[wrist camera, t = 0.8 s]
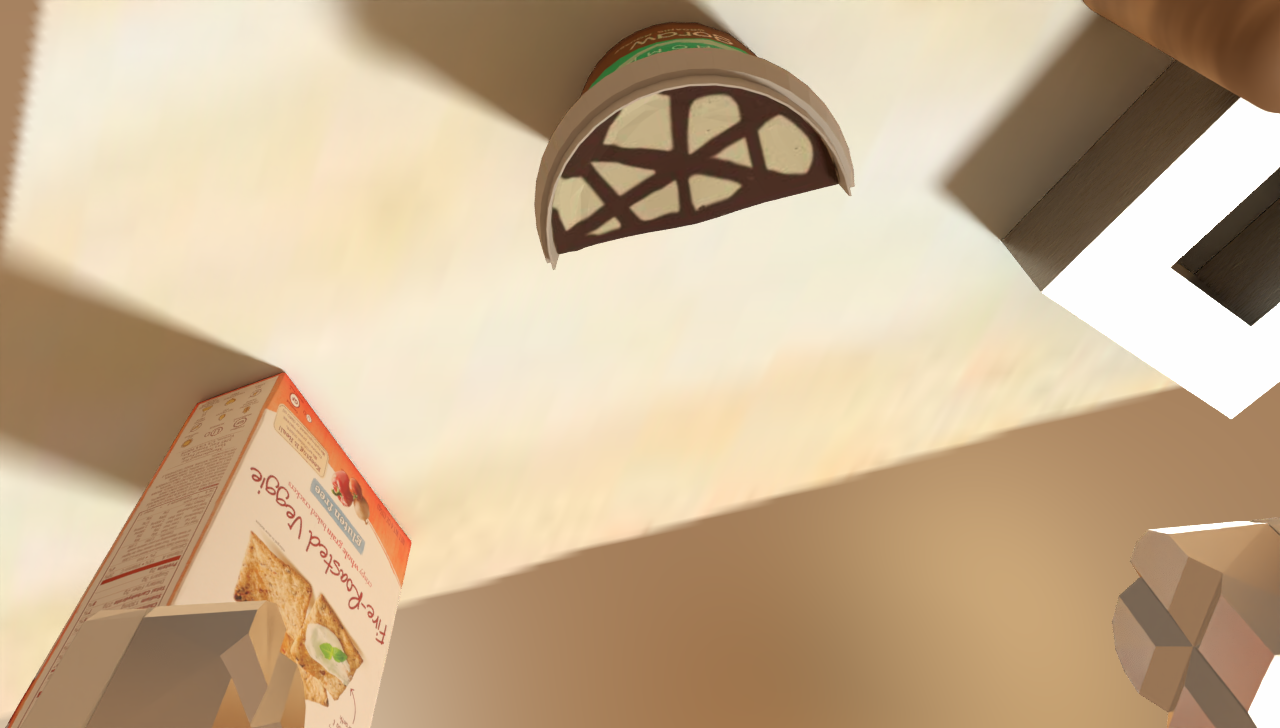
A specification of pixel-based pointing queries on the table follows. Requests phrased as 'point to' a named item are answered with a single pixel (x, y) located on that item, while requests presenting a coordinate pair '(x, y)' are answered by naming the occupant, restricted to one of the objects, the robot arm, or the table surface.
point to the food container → (681, 140)
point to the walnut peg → (1211, 39)
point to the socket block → (1170, 239)
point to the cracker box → (262, 545)
